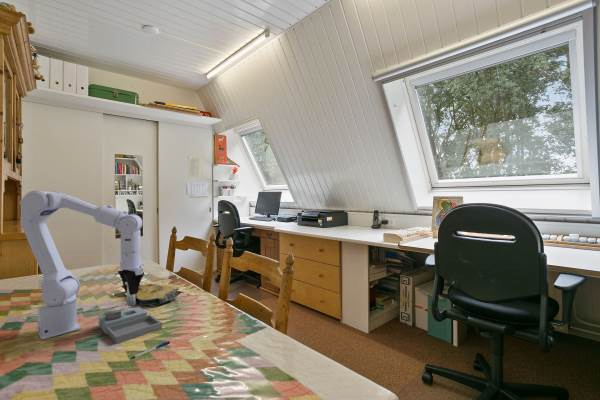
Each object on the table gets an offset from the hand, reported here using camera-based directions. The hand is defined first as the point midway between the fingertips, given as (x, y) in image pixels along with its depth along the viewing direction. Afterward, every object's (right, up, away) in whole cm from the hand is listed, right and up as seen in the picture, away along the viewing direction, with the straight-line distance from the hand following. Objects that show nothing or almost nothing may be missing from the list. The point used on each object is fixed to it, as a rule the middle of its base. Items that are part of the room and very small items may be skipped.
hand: (131, 292), depth 98 cm
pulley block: (-7, -10, +25) cm, 28 cm away
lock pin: (0, -4, 0) cm, 4 cm away
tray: (+4, -11, -5) cm, 12 cm away
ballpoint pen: (+15, -11, -16) cm, 24 cm away
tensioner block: (-3, -10, +1) cm, 11 cm away
